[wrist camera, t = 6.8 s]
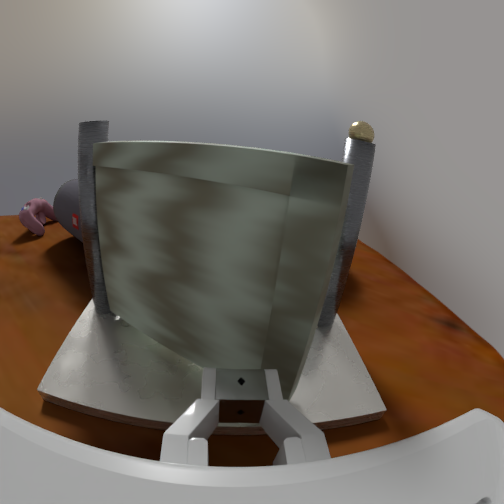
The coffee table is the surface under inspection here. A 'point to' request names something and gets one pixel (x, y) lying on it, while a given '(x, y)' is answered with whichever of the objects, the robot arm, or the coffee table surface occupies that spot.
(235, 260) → the gate
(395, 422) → the coffee table surface
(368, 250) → the coffee table surface
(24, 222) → the video game controller
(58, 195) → the bluetooth speaker
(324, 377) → the gate frame
